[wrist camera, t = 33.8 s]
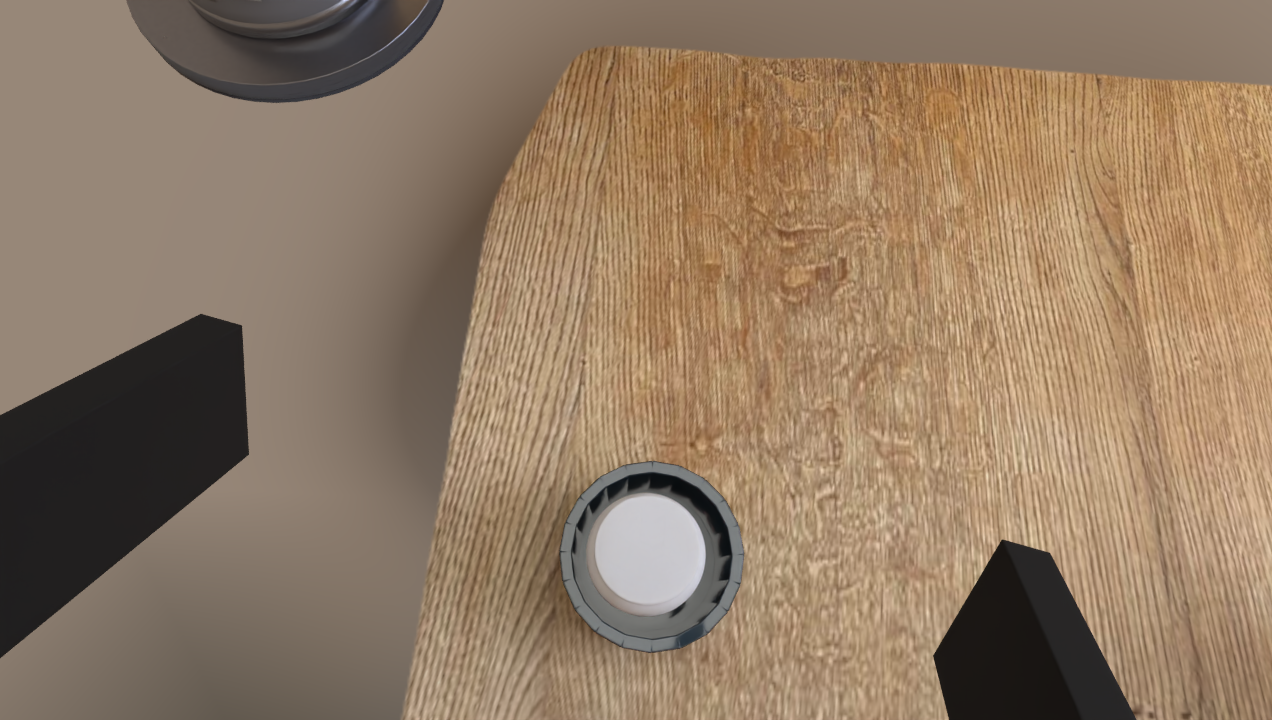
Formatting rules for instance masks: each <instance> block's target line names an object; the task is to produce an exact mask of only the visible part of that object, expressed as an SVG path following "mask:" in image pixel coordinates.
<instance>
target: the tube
mask: <svg viewBox="0 0 1272 720" xmlns="http://www.w3.org/2000/svg"><path fill="white" fill-rule="evenodd" d="M636 493H654V494H659V495H663V496H666V497H668V498H670V499H672V500H674V501H676V502H677V503H679V504H680V505H682V506H683V507H684V508H685V509H686V510H687V511H688V512H689V513H690V514H691V515H692V516H693V518H694V519H695V521H696V522H697V524H698V526H699V528H700V530H701V532H702V535H703V539H704V543H705V551H706V559H705V567H704V571H703V575H702V577H701V580H700V582H699V584H698V586H697V588H696V589H695V591H694V592H693V594H692V595H691V596H690V597H689V598H688V599H687V600H686V601H685V602H684V603H683V604H681V605H680V606H679V607H677V608H676V609H674V610H672V611H670V612H668V613H665V614H662V615H658V616H650V617H642V616H635V615H631V614H628V613H625V612H623V611H621V610H619V609H617V608H615V607H613V606H612V605H610V604H609V603H608V602H607V601H606V600H604V598H603V597H602V596H601V595H600V594H599V593H598V591H597V589H596V588H595V586H594V584H593V582H592V580H591V577H590V575H589V571H588V568H587V561H586V548H587V542H588V537H589V534H590V531H591V529H592V527H593V525H594V523H595V521H596V519H597V518H598V517H599V515H600V514H601V513H602V512H603V511H604V510H605V509H606V508H607V507H608V506H609V505H611V504H612V503H613V502H615V501H617V500H619V499H621V498H623V497H625V496H628V495H631V494H636ZM559 551H560V552H559V555H560V565H561V574H562V581H563V584H564V587H565V589H566V591H567V594H568V596H569V598H570V600H571V603H572V605H573V607H574V609H575V611H576V612H577V613H578V614H579V615H580V616H581V618H582V619H583V620H584V621H585V622H586V623H587V624H588V625H589V626H590V628H591V629H592V630H593V631H594V632H596V633H597V634H598V635H600V636H602V637H604V638H605V639H607V640H609V641H611V642H612V643H614V644H616V645H618V646H619V647H622V648H626V649H631V650H637V651H642V652H648V653H651V652H652V653H655V652H662V651H668V650H674V649H680V648H683V647H685V646H687V645H688V644H690V643H692V642H694V641H696V640H698V639H700V638H701V637H703V636H705V635H707V633H709V632H710V631H711V630H712V629H713V628H714V627H715V626H716V625H717V623H718V622H719V621H720V620H721V619H722V618H723V617H724V616H725V615H726V614H727V611H729V609H730V607H731V605H732V602H733V600H734V598H735V596H736V594H737V592H738V589H739V587H740V584H741V578H742V570H743V561H744V555H743V554H744V550H743V544H742V539H741V533H740V528H739V525H738V522H737V521H736V519H735V517H734V515H733V513H732V511H731V509H730V507H729V505H728V503H727V501H726V500H725V499H724V497H723V496H722V495H721V494H720V493H719V492H718V491H717V490H716V489H715V488H714V487H713V486H712V485H711V484H710V483H709V482H708V481H707V480H705V479H704V478H703V477H701V476H699V475H697V474H695V473H693V472H691V471H689V470H687V469H685V468H684V467H682V466H679V465H674V464H668V463H662V462H656V461H653V462H652V461H648V462H641V463H634V464H626V465H623V466H621V467H619V468H617V469H615V470H613V471H611V472H609V473H607V474H605V475H603V476H601V477H600V478H598V479H597V480H596V481H595V482H594V483H593V484H592V485H591V486H590V487H589V488H588V489H587V490H586V491H584V492H583V493H582V494H581V495H580V497H579V498H578V499H577V501H576V503H575V505H574V507H573V509H572V510H571V512H570V514H569V516H568V518H567V520H566V523H565V524H564V530H563V535H562V540H561V545H560V550H559Z"/></svg>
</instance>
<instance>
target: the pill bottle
mask: <svg viewBox="0 0 1272 720" xmlns="http://www.w3.org/2000/svg"><path fill="white" fill-rule="evenodd" d="M705 559H706V551H705V543H704V539H703V535H702V532H701V530H700V528H699V526H698V524H697V522H696V521H695V519H694V518H693V516H692V515H691V514H690V513H689V512H688V511H687V510H686V509H685V508H684V507H683V506H682V505H680V504H679V503H677V502H676V501H674V500H672V499H670V498H668V497H666V496H663V495H659V494H654V493H636V494H631V495H628V496H625V497H623V498H621V499H619V500H617V501H615V502H613V503H612V504H611V505H609V506H608V507H607V508H606V509H605V510H604V511H603V512H602V513H601V514H600V515H599V517H598V518H597V519H596V521H595V523H594V525H593V527H592V529H591V531H590V534H589V537H588V542H587V548H586V561H587V568H588V571H589V575H590V577H591V580H592V582H593V584H594V586H595V588H596V589H597V591H598V593H599V594H600V595H601V596H602V597H603V598H604V600H606V601H607V602H608V603H609V604H610V605H612V606H613V607H615V608H617V609H619V610H621V611H623V612H625V613H628V614H631V615H635V616H642V617H650V616H658V615H662V614H665V613H668V612H670V611H672V610H674V609H676V608H677V607H679V606H680V605H681V604H683V603H684V602H685V601H686V600H687V599H688V598H689V597H690V596H691V595H692V594H693V592H694V591H695V589H696V588H697V586H698V584H699V582H700V580H701V577H702V575H703V571H704V567H705Z"/></svg>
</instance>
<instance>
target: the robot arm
mask: <svg viewBox="0 0 1272 720" xmlns="http://www.w3.org/2000/svg"><path fill="white" fill-rule="evenodd" d="M188 1H189V3H190V4H191V5H192V6H193V8H194V9H195V10H196V11H197V12H198V13H199V14H200V15H201V16H202V17H204V18H205V19H206V20H208V21H209V22H211V23H212V24H214V25H216V26H218V27H220V28H222V29H224V30H227V31H229V32H232V33H235V34H239V35H242V36H248V37H253V38H264V39H278V38H289V37H296V36H301V35H306V34H309V33H313V32H316V31H319V30H322V29H324V28H327V27H329V26H331V25H333V24H336V23H338V22H339V21H341V20H343V19H345V18H346V17H348V16H349V15H351V14H352V13H354V12H355V11H356V10H357V9H359V8H360V7H361V6H362V5H363V4H364V3H365V2H366V1H367V0H188ZM242 337H243V336H242V326H241V325H238V324H235V323H231V322H228V321H224V320H221V319H217V318H214V317H210V316H206V315H203V314H200V315H198V316H196V317H194V318H192V319H190V320H188V321H186V322H184V323H182V324H180V325H178V326H176V327H174V328H172V329H170V330H168V331H166V332H164V333H162V334H160V335H158V336H156V337H154V338H152V339H150V340H148V341H146V342H144V343H142V344H140V345H138V346H137V347H134V348H132V349H130V350H129V351H126V352H124V353H123V354H120V355H119V356H117V357H115V358H113V359H111V360H109V361H107V362H105V363H103V364H101V365H99V366H97V367H95V368H93V369H91V370H89V371H87V372H85V373H83V374H81V375H79V376H77V377H75V378H73V379H71V380H69V381H67V382H65V383H63V384H61V385H59V386H57V387H55V388H53V389H51V390H49V391H47V392H45V393H43V394H41V395H39V396H37V397H35V398H34V399H32V400H30V401H28V402H26V403H24V404H22V405H20V406H18V407H16V408H14V409H12V410H10V411H8V412H6V413H4V414H2V415H0V658H1V657H2V656H3V655H4V654H6V653H7V652H8V651H10V650H11V649H12V648H13V647H14V646H15V645H17V644H18V643H19V642H20V641H22V640H23V639H24V638H25V637H26V636H28V635H29V634H30V633H31V632H33V631H34V630H35V629H36V628H38V627H39V626H40V625H41V624H42V623H43V622H45V621H46V620H47V619H48V618H50V617H51V616H52V615H54V613H56V612H57V611H58V610H60V609H61V608H62V607H63V606H64V605H66V604H67V603H68V602H69V601H71V600H72V599H73V598H74V597H75V596H77V595H78V594H79V593H80V592H82V591H83V590H84V589H85V588H86V587H88V586H89V585H90V584H91V583H92V582H94V581H95V580H96V579H97V578H99V577H100V576H101V575H102V574H104V573H105V572H106V571H107V570H108V569H110V568H111V567H112V566H113V565H114V564H116V563H117V562H118V561H119V560H120V559H122V558H123V557H124V556H126V555H127V554H128V553H129V552H130V551H132V550H133V549H134V548H135V547H136V546H137V545H139V544H140V543H141V542H143V541H144V540H145V539H146V538H148V537H149V536H150V535H151V534H152V533H153V532H155V531H156V530H157V529H159V528H160V527H161V526H162V525H163V524H165V523H166V522H167V521H168V520H169V519H171V518H172V517H173V516H174V515H175V514H177V513H178V512H179V511H180V510H182V509H183V508H184V507H185V506H187V505H188V504H189V503H190V502H192V501H193V500H194V499H195V498H196V497H198V496H199V495H200V494H201V493H202V492H204V491H205V490H206V489H207V488H209V487H210V486H211V485H212V484H213V483H215V482H216V481H217V480H218V479H219V478H221V477H222V476H223V475H224V474H226V473H227V472H228V471H229V470H230V469H232V468H233V467H234V466H235V465H237V464H238V463H239V462H240V461H242V460H243V459H244V458H245V457H246V456H248V455H249V449H248V429H247V412H246V392H245V374H244V355H243V338H242ZM933 657H934V661H935V665H936V669H937V673H938V677H939V681H940V685H941V689H942V693H943V697H944V701H945V705H946V709H947V713H948V717H949V720H1136V718H1135V716H1134V714H1133V712H1132V710H1131V708H1130V706H1129V704H1128V702H1127V700H1126V698H1125V696H1124V695H1123V693H1122V691H1121V689H1120V687H1119V685H1118V683H1117V681H1116V679H1115V677H1114V675H1113V673H1112V671H1111V670H1110V668H1109V666H1108V664H1107V662H1106V660H1105V658H1104V656H1103V654H1102V652H1101V650H1100V648H1099V646H1098V645H1097V643H1096V641H1095V639H1094V637H1093V635H1092V633H1091V631H1090V629H1089V627H1088V625H1087V623H1086V621H1085V619H1084V618H1083V616H1082V614H1081V612H1080V610H1079V608H1078V606H1077V604H1076V602H1075V600H1074V598H1073V596H1072V594H1071V593H1070V591H1069V589H1068V587H1067V585H1066V583H1065V581H1064V579H1063V577H1062V575H1061V573H1060V571H1059V569H1058V568H1057V566H1056V564H1055V562H1054V560H1053V558H1052V556H1051V554H1050V553H1048V552H1045V551H1041V550H1038V549H1034V548H1031V547H1027V546H1023V545H1020V544H1016V543H1013V542H1009V541H1006V540H1001V542H1000V544H999V545H998V547H997V549H996V551H995V552H994V554H993V556H992V557H991V559H990V561H989V562H988V564H987V566H986V567H985V569H984V571H983V572H982V574H981V576H980V578H979V579H978V581H977V583H976V584H975V586H974V588H973V589H972V591H971V593H970V594H969V596H968V598H967V599H966V601H965V603H964V605H963V606H962V608H961V610H960V611H959V613H958V615H957V616H956V618H955V620H954V621H953V623H952V625H951V627H950V628H949V630H948V632H947V633H946V635H945V637H944V638H943V640H942V642H941V643H940V645H939V647H938V648H937V650H936V652H935V654H934V655H933Z"/></svg>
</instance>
